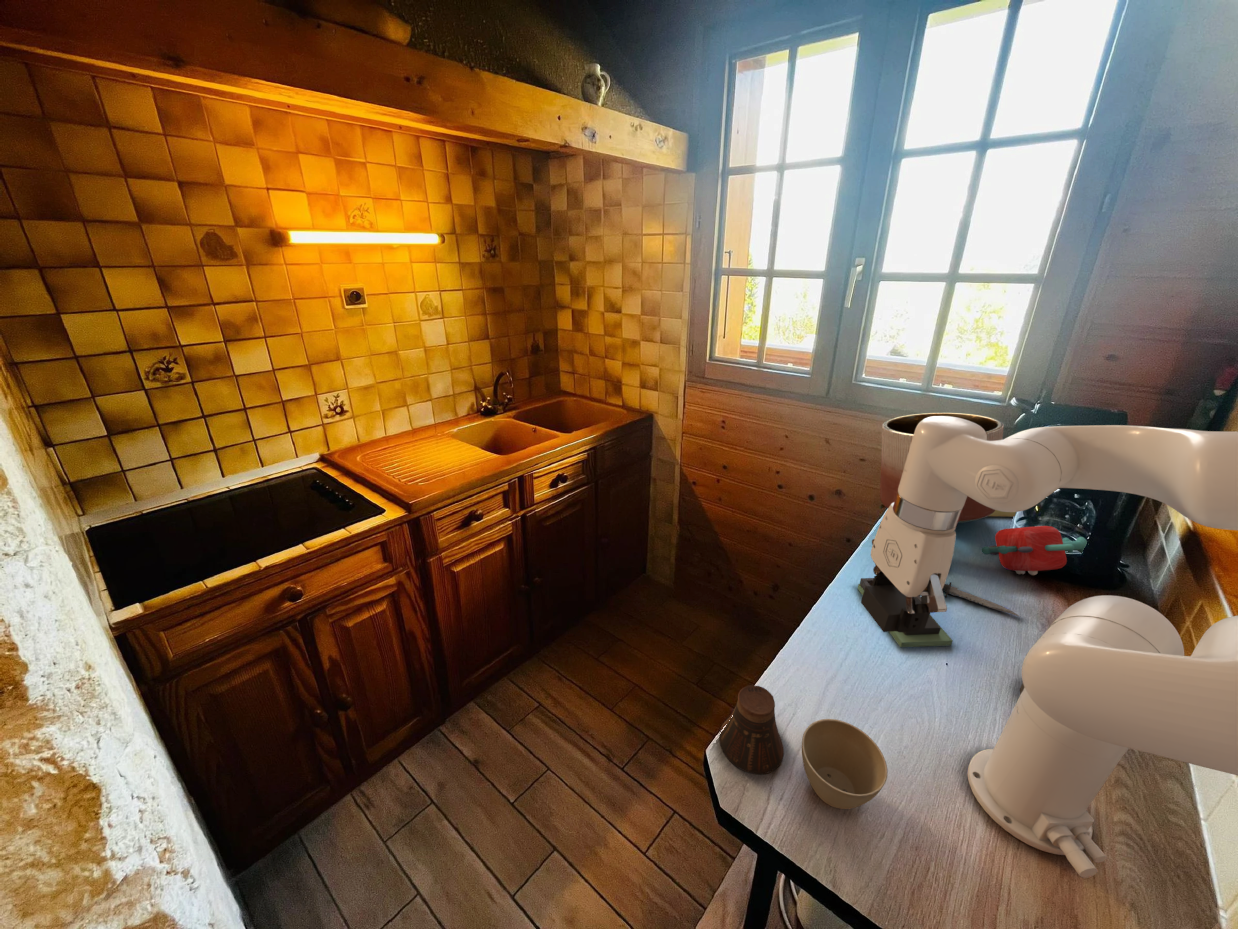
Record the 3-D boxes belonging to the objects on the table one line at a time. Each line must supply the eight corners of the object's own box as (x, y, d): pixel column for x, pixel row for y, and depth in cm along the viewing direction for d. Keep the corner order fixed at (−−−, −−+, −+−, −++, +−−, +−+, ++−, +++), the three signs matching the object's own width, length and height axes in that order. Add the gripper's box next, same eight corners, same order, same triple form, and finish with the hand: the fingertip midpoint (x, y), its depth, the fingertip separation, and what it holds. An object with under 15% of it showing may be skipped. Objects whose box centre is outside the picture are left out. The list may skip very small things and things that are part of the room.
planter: (906, 483, 144) (908, 409, 137) (1012, 501, 124) (1021, 416, 117) (861, 511, 130) (862, 430, 123) (973, 536, 110) (980, 442, 103)
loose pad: (924, 629, 70) (930, 612, 69) (883, 632, 70) (888, 615, 68) (899, 600, 76) (904, 583, 74) (860, 602, 75) (865, 586, 74)
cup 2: (814, 715, 65) (794, 757, 70) (763, 664, 71) (748, 706, 76) (769, 749, 60) (751, 791, 66) (719, 692, 67) (706, 734, 72)
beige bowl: (780, 788, 65) (787, 754, 62) (814, 739, 71) (823, 705, 68) (856, 850, 58) (868, 814, 55) (886, 789, 65) (899, 754, 62)
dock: (951, 645, 87) (955, 634, 86) (900, 647, 87) (904, 636, 86) (900, 587, 101) (903, 576, 100) (857, 588, 101) (859, 577, 100)
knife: (1022, 604, 94) (1020, 619, 91) (1018, 612, 95) (1016, 627, 91) (911, 564, 105) (905, 576, 102) (908, 572, 106) (903, 583, 102)
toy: (1046, 570, 112) (963, 577, 111) (1036, 526, 114) (954, 532, 113) (1127, 572, 95) (1030, 580, 94) (1113, 520, 97) (1018, 527, 96)
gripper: (864, 479, 72) (840, 576, 80) (942, 549, 57) (903, 661, 65) (912, 478, 73) (883, 574, 81) (1003, 546, 57) (956, 657, 65)
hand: (892, 612), depth 72 cm, fingers closed on loose pad, 6 cm apart
